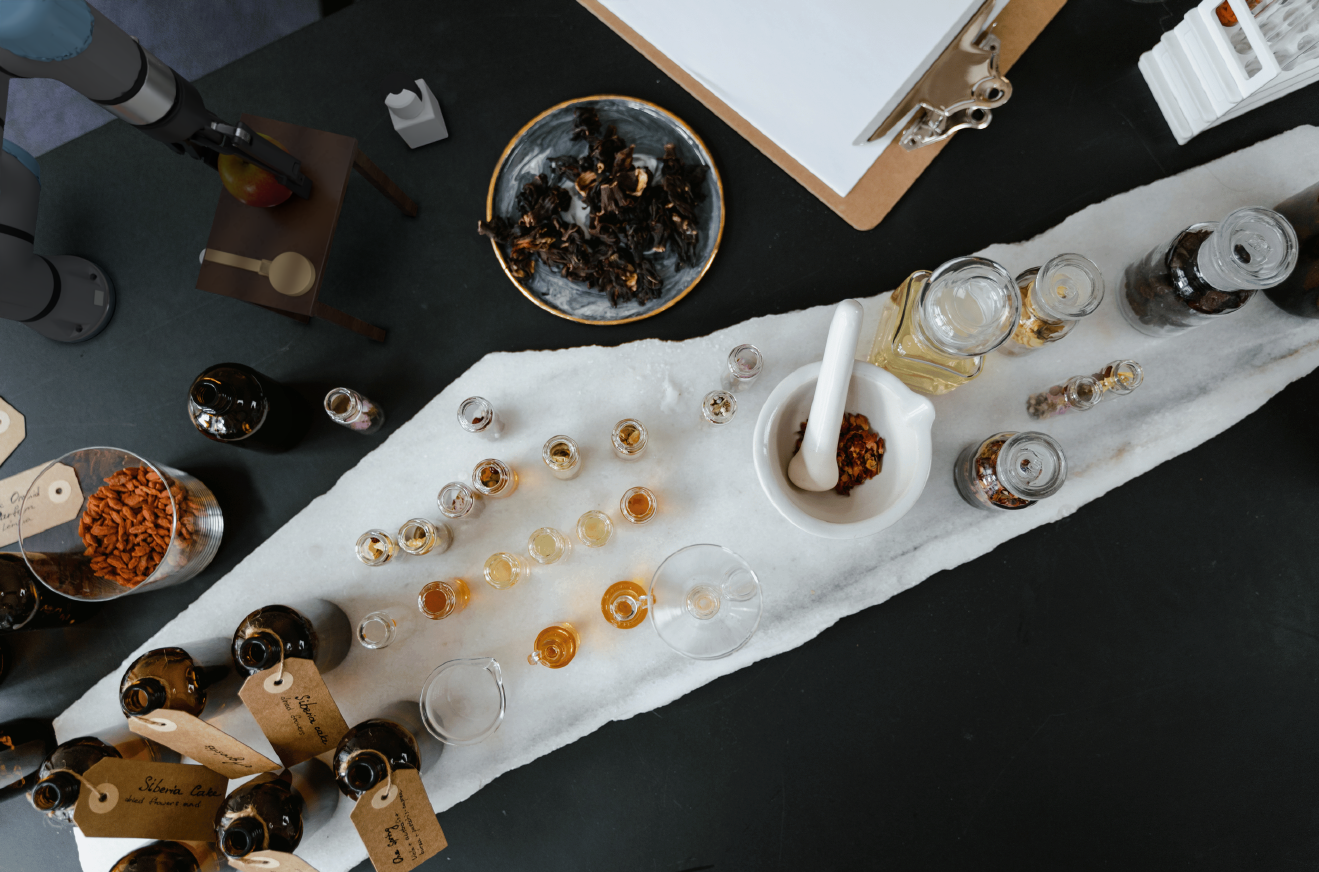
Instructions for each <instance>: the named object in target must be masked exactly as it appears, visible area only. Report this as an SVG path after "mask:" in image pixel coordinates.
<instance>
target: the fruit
mask: <svg viewBox="0 0 1319 872" xmlns="http://www.w3.org/2000/svg"><path fill="white" fill-rule="evenodd" d="M257 134H259V135H260V136H262V137H263V138H265V139H267V140H268V141H270V142H271V143H273V144H274V145H276V146H278V147H279V148H281V149H282V150H284V151H285V152H287V153H289V151H288V150H287V149H286V148H285V147H284V146H283V145H282V144H281V143H280V142H278V141H276V140H275V139H273V138H271V137H269V136H267V135H264V134H261V133H257ZM289 154H290V153H289ZM290 155H291V154H290ZM218 171H219V172H218V174H219V177H220V180H221V182H222V185H223V184H224V186H225V187H226V189H227V190H228V191H229V193H230V194H231V195H232V196H234V197H235V198H236V199H237V200H238V201H240V202H242V203H244V204H246V205H249V206H253V207H271V206H275V205H278V204H280V203H282V202H284V201H285V200H287V199H288V198H289V197H290V196H291V194H292V193H293V191H291V190H290V189H288V188H287V187H286V186H284V185H280V184H278V183H277V182H278V181H277V180H276V179H275V176H274V175H272V174H270V173H268V172H266V171H264V170H262V169H260V168H258V167H256V166H254V165H252V164H250V163H248V162H246V161H244V160H242V159H240V158H238V157H236V156H234V155H223V154H221V153H219V157H218Z"/></svg>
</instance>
